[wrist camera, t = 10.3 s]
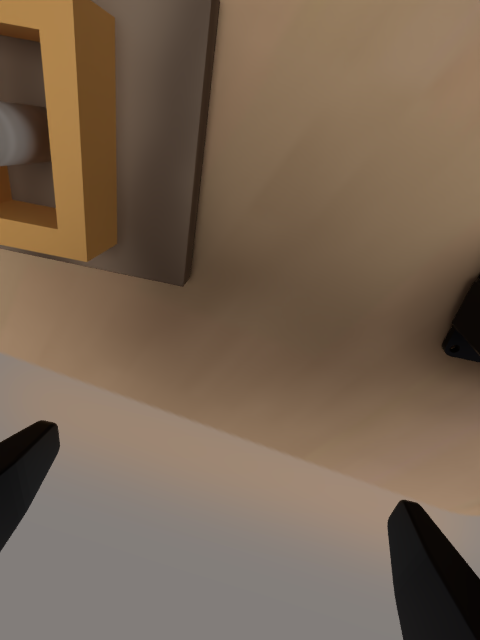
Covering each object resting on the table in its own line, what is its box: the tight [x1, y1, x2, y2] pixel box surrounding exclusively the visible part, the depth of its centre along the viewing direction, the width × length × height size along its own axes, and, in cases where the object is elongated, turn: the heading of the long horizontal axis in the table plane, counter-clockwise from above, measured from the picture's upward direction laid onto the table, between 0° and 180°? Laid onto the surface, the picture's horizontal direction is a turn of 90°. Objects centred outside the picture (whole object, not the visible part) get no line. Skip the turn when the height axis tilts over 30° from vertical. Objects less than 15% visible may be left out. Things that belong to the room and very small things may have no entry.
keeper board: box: [0, 0, 220, 287], centre depth 14 cm, size 14×12×7 cm
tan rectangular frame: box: [0, 0, 117, 262], centre depth 14 cm, size 7×9×3 cm
